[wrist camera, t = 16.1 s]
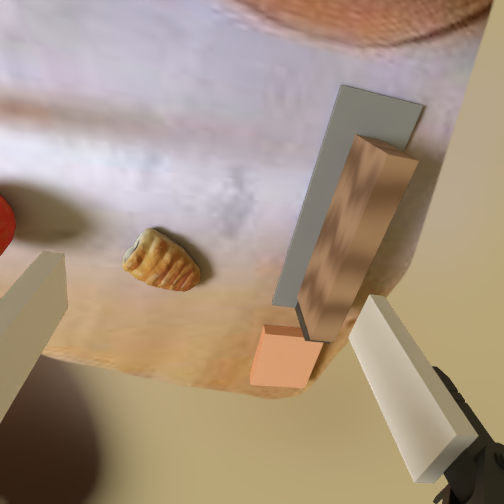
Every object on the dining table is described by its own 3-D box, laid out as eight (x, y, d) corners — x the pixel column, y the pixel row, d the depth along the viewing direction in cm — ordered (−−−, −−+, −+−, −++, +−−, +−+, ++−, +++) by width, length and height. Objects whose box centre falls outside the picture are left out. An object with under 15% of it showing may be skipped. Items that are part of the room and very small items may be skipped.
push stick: (354, 134, 35) (387, 154, 29) (381, 140, 36) (420, 161, 29) (293, 303, 47) (306, 347, 40) (315, 306, 47) (331, 349, 40)
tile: (265, 334, 47) (250, 384, 53) (325, 339, 49) (304, 388, 54) (263, 322, 49) (249, 372, 55) (321, 328, 51) (301, 376, 56)
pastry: (212, 259, 43) (212, 277, 40) (183, 294, 45) (180, 313, 42) (147, 220, 39) (140, 236, 36) (119, 259, 42) (110, 277, 38)
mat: (340, 84, 33) (342, 85, 33) (420, 104, 35) (423, 105, 34) (271, 302, 47) (272, 305, 46) (331, 309, 49) (332, 312, 48)
